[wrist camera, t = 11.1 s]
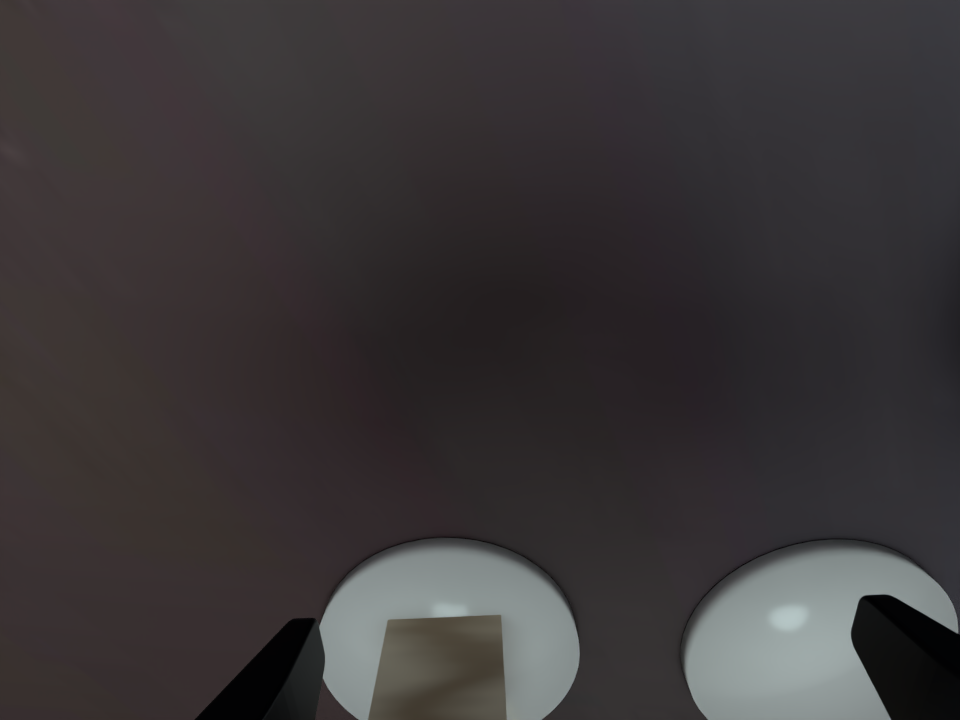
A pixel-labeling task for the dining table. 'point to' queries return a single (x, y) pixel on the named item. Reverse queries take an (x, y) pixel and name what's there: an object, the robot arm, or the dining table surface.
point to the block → (441, 670)
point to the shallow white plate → (798, 632)
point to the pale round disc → (452, 593)
